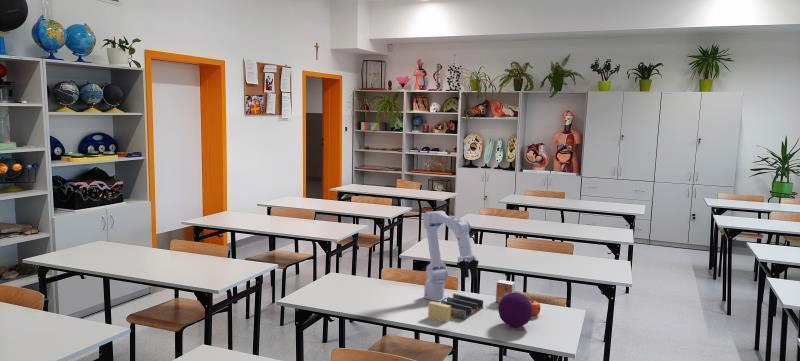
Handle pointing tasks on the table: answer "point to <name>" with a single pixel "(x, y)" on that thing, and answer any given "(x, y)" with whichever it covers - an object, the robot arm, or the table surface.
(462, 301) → the rack
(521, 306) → the toy ball
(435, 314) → the tan rectangular block
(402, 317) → the table surface
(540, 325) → the table surface
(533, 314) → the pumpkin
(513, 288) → the small box
